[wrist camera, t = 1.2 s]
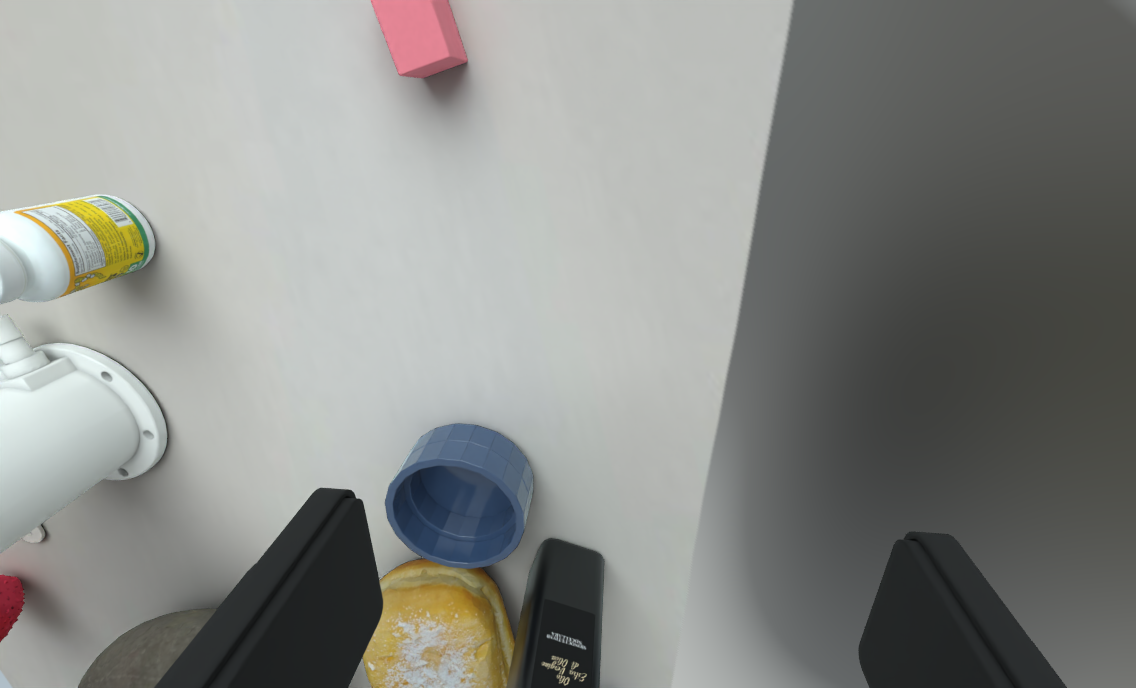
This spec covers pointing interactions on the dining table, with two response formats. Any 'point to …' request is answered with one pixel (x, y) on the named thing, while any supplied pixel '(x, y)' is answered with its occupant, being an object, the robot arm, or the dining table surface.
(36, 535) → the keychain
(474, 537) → the bowl
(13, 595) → the strawberry
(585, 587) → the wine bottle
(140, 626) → the clay pot
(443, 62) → the eraser
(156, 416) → the robot arm
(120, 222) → the supplement bottle
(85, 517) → the dining table surface
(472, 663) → the bread
